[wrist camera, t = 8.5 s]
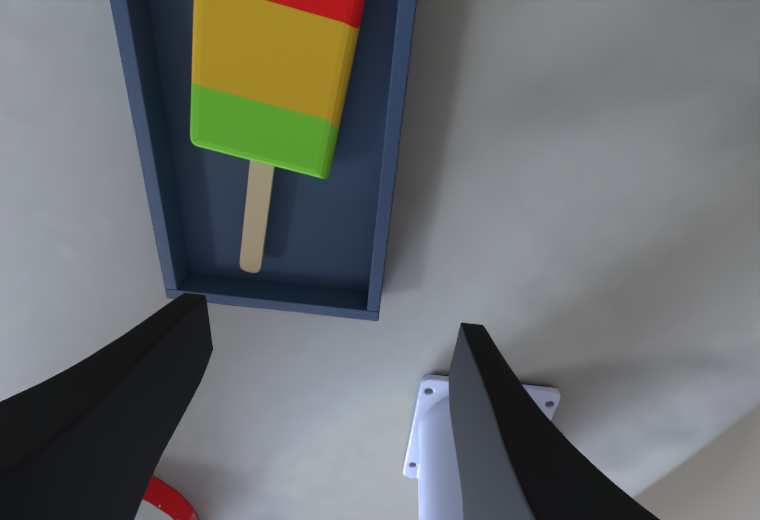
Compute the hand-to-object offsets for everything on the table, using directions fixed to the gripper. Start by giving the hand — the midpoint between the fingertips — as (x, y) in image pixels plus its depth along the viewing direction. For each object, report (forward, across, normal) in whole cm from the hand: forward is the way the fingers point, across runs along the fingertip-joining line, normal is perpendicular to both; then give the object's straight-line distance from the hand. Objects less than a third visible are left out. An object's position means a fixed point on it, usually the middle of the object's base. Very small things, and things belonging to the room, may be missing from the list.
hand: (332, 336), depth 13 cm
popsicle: (+9, +4, -4) cm, 10 cm away
